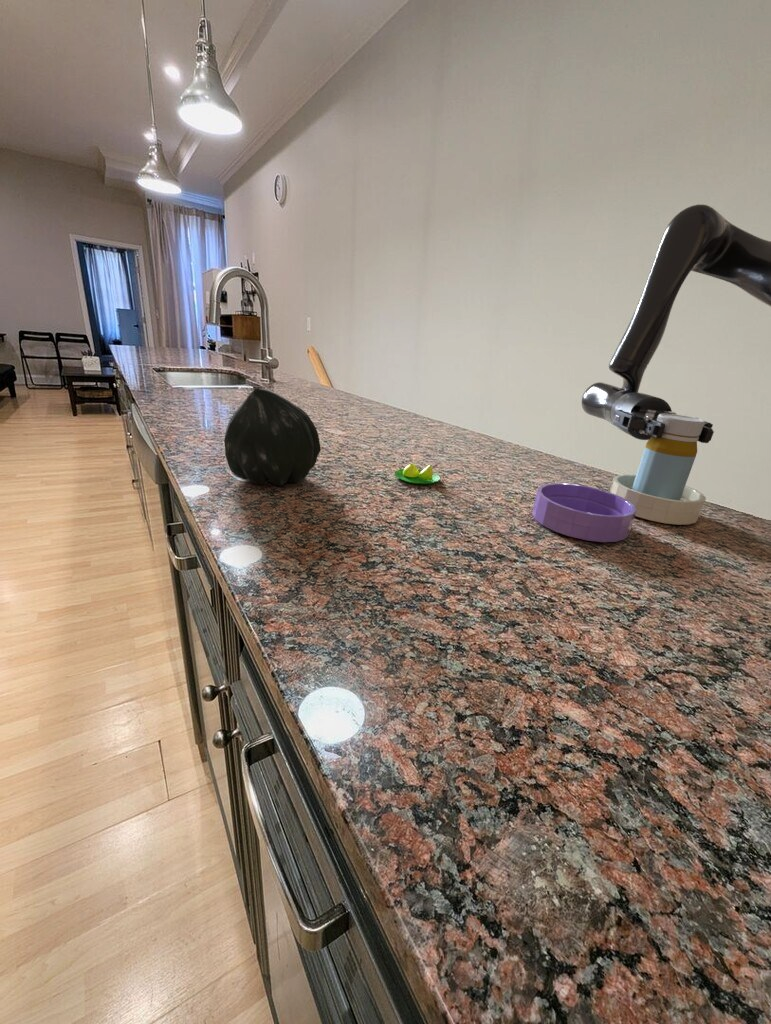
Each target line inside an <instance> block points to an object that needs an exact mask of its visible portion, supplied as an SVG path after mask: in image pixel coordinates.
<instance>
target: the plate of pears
mask: <svg viewBox="0 0 771 1024" xmlns="http://www.w3.org/2000/svg"><path fill="white" fill-rule="evenodd" d="M393 475H394V476H395V477H396V478H398V479H400V480H401V481H402V482H405V483H407V484H413V485H430V484H433V483H437V482H439V481H440V479H441V478H440V475H438V474H437V473H434V469H433V467H432V466H431V464H428V465H427V466H426V467H424V468H423V469H420V468H418V467H417V466H416V465H415V463H414V462H410V464H408V465H406V466H405V467H404V468H402V469H398V470H396V471H395V472H394V474H393Z"/></svg>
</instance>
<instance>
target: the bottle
mask: <svg viewBox="0 0 771 1024" xmlns="http://www.w3.org/2000/svg"><path fill="white" fill-rule="evenodd" d="M657 421H659V422H662V423H664V424H665V429H664V432H663V435H662V437H661V438H655V437H653V436H651V438H650V439H649V440H647V442H645V443H646V444H645V447H644V449H643V453H642V457H641V459H640V462H639V465H638V468H637V472H636V474H635V475H636V478H635V481H634V484H633V487H632V490H635V491H638V492H641V493H644V494H648V495H651V496H655V497H660V498H665V499H671V500H679V501H680V499H681V496H682V493H683V490H684V488H685V486H687V483H688V480H689V477H690V473H691V471H692V468H693V466H694V463H695V460H696V457H697V454H698V442H699V441H698V439H699V435H700V434H701V431H702V429H703V426H704V421H705V420H704V419H701V418H699V417H693V416H687V415H681V414H677V415H674V414H659V415H658V418H657Z"/></svg>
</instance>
